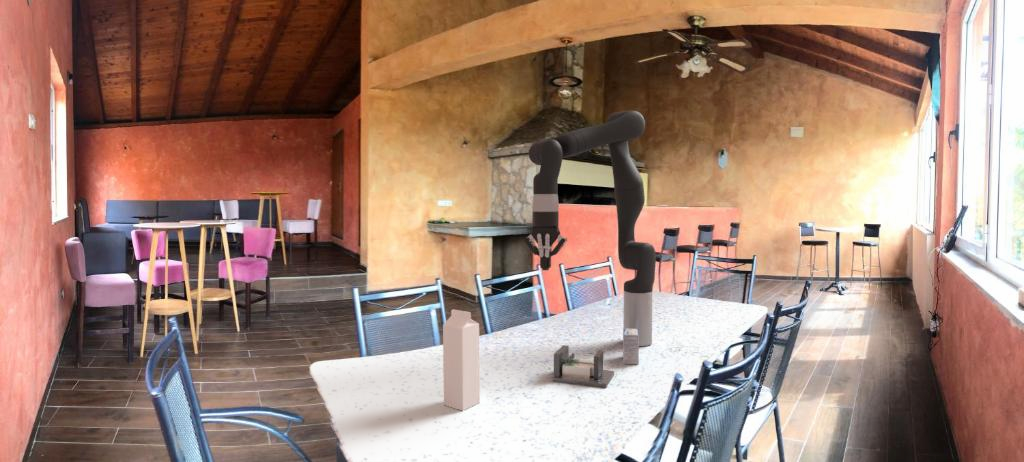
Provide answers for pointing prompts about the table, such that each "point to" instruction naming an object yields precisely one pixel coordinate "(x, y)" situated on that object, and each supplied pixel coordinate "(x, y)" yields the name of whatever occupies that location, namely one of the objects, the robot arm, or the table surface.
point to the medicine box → (630, 346)
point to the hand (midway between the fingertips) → (545, 269)
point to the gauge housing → (577, 371)
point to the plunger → (596, 368)
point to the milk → (461, 361)
